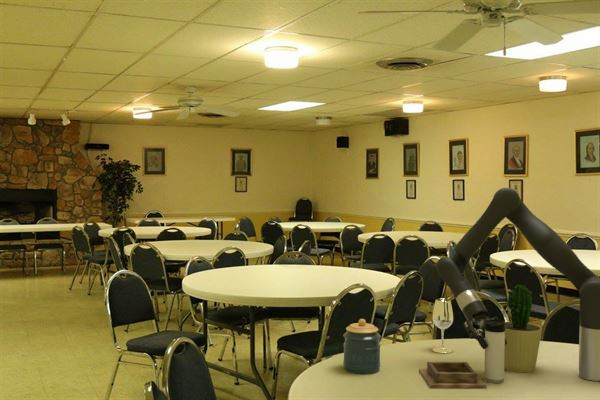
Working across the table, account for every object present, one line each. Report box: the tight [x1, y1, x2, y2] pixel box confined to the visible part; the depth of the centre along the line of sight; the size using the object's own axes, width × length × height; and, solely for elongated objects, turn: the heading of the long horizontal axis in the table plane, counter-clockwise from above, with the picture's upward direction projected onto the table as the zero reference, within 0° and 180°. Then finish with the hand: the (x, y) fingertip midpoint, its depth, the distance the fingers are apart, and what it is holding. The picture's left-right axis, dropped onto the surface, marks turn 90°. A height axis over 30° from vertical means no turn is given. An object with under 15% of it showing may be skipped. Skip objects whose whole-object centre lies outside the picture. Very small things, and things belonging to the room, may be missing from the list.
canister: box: [342, 318, 382, 375], centre depth 222 cm, size 13×13×18 cm
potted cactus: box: [504, 284, 543, 373], centre depth 225 cm, size 15×15×30 cm
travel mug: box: [483, 318, 506, 384], centre depth 210 cm, size 6×7×20 cm
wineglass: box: [432, 298, 454, 354], centre depth 247 cm, size 8×8×20 cm
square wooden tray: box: [418, 361, 488, 389], centre depth 210 cm, size 18×18×4 cm
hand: (495, 346), depth 209 cm, fingers open, 8 cm apart
